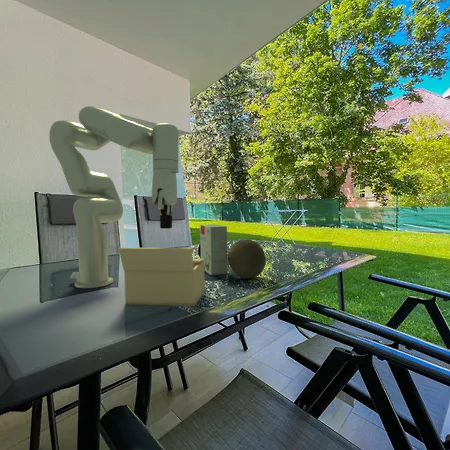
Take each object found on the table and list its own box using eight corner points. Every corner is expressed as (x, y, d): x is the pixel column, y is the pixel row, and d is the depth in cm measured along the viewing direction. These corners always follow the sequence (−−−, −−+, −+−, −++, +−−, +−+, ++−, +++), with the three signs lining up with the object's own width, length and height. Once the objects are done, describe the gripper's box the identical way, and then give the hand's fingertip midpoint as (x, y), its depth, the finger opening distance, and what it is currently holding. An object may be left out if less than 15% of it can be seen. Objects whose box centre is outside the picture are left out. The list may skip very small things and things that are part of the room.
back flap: (135, 261, 83) (135, 260, 83) (145, 260, 90) (145, 258, 90) (199, 262, 81) (199, 260, 81) (204, 260, 88) (204, 259, 88)
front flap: (124, 269, 76) (123, 270, 76) (119, 247, 73) (118, 248, 73) (193, 270, 74) (193, 271, 73) (191, 247, 71) (191, 248, 71)
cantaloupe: (234, 273, 112) (233, 237, 111) (268, 275, 107) (268, 238, 107) (223, 282, 98) (222, 241, 97) (262, 285, 94) (261, 242, 93)
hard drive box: (200, 268, 123) (199, 224, 122) (216, 266, 126) (215, 224, 125) (210, 275, 109) (209, 226, 108) (228, 274, 112) (227, 225, 111)
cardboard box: (125, 304, 77) (124, 269, 76) (146, 289, 91) (145, 260, 90) (194, 306, 74) (193, 270, 74) (204, 291, 88) (204, 260, 88)
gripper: (162, 171, 89) (162, 226, 91) (143, 163, 75) (144, 230, 76) (184, 170, 88) (184, 226, 90) (169, 163, 74) (170, 230, 75)
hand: (166, 228), depth 83 cm, fingers closed
